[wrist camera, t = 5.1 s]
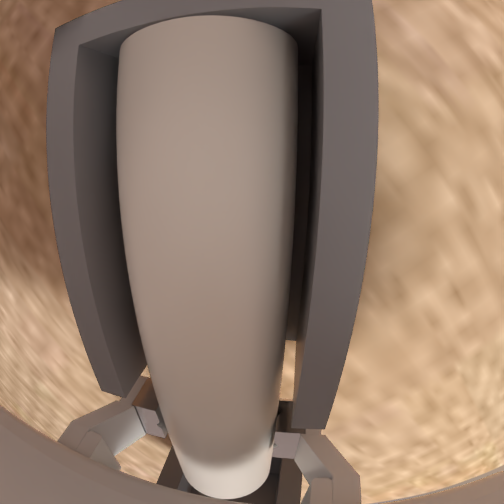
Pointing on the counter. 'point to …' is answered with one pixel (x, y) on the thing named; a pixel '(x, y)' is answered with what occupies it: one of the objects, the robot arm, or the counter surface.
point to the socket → (261, 500)
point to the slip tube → (211, 232)
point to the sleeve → (307, 181)
